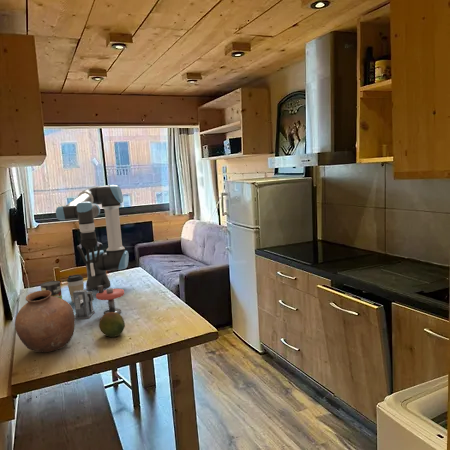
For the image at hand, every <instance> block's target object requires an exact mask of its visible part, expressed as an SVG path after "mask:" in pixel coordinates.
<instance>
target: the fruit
mask: <svg viewBox="0 0 450 450" xmlns="http://www.w3.org/2000/svg"><path fill="white" fill-rule="evenodd" d="M98 327H99V330H100V332H101V334H103V335H105V336H107V337H110V338H113V337H114V338H115V337H119V336H120V335H121V334H123V331H124V330H125V328H126V326H125V320H124V318H123V316H122V315H121V313H120V314H118V313H116V312H109V313H106V314H105V315H104V314H103V315H102V317H101V318H100V320H99V322H98Z"/></svg>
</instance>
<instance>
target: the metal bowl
mask: <svg viewBox="0 0 450 450" xmlns="http://www.w3.org/2000/svg"><path fill="white" fill-rule="evenodd" d="M107 302H108V303H107V304H108V309H107V310H104V311H103V316H104V315H105V314H106V313H109V312H116V313H118V314H120V315H121V313H122V309H121V308H116V304H115V299H111V300H107Z"/></svg>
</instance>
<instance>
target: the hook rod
mask: <svg viewBox="0 0 450 450" xmlns="http://www.w3.org/2000/svg"><path fill="white" fill-rule="evenodd" d="M93 291H94V290H89V291H87V296H88V301H89V300H92V302H94V293H93ZM75 303H76V309H81V308H82V307H83V306H84V304H83V299H82V300H81V301H80V298H75Z"/></svg>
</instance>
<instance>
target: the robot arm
mask: <svg viewBox="0 0 450 450" xmlns="http://www.w3.org/2000/svg"><path fill="white" fill-rule="evenodd" d="M122 203H124V197H123V192H122V189H121V188H120V186H119V185H117V184H108V185H95V186H90V187H88V188H86V189H84V190H82V191H81V192H80V193H79V194H78V195H77V197H75V198H74V199H73V200H71V201H70V202H68V204H66V205H61V206H57V207H56V209H55V217H56V218H57V220H59V221H68V220H69V221H70V220H78V227H79V232H80V233H79V235H80V243H79V245H77V246H76V249H77V250H78V252H79V254H80V257H81V259H82V262H83V264H85V266H86V274H87V278H86V284H85V290H87V291H98V287H97V286H99V285H103V289H104V288H105V289H108V288H110V287H111V284H112V283H111V281H110V278H109V276H108V274H107V271H117V270H118V271H120V270H125V269H127V267H128V266H129V257H130V256H129V255H130V254H129V251H128V250H126V248H125V246H123V241H122V230H121V229H122V228H121V220H120V219H121V218H120V210H119V209H120V208H121V206H122V205H121V204H122ZM100 205H101V207H100ZM101 208H102V209H103V210H104V216H105V227H106V228H105V229H106V235H107V244H108V245H107V246H108V247H107V248H106V251H104V249H101V247H102V246H103V243H102V242H99V241H98V239H97V235H96V231H95V230H96V228H95V227H96V226H95V221H94V220H95V219H94V218H96V217H98V216H99V215H100V213H101ZM96 245H97V250H96V251H95V247H96ZM82 248H84V250H85V254H86V255H85V254H84V251H83V249H82ZM105 289H104V290H105Z"/></svg>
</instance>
